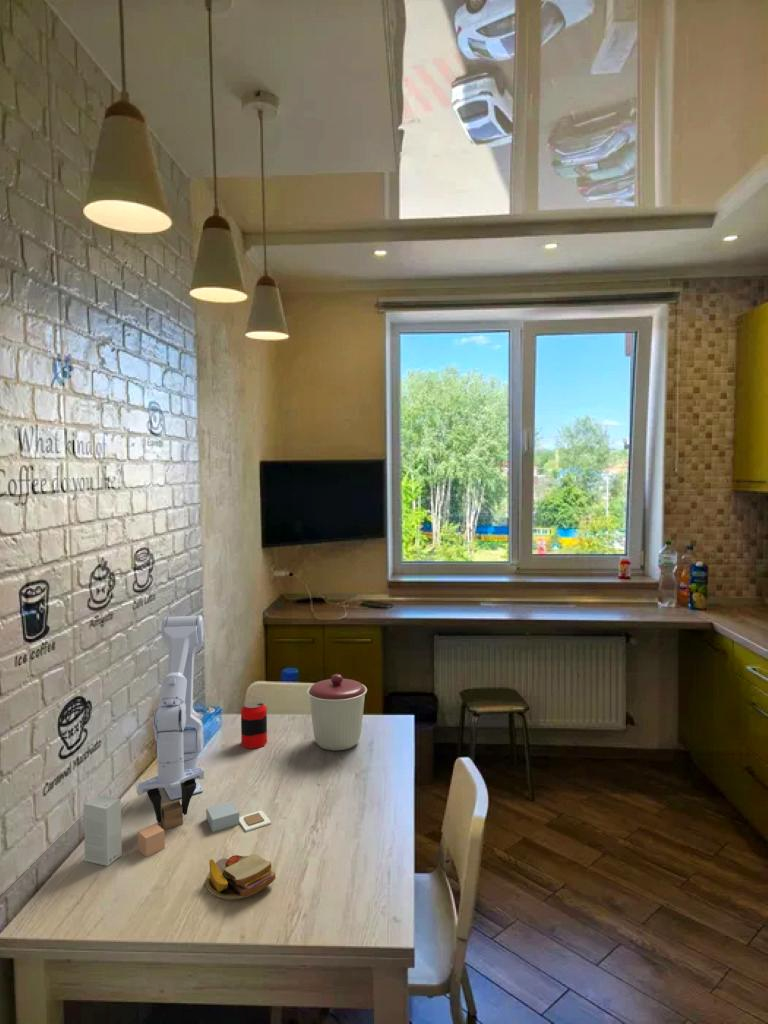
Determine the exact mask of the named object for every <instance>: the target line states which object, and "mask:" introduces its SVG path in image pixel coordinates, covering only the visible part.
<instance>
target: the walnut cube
mask: <svg viewBox="0 0 768 1024" xmlns="http://www.w3.org/2000/svg"><path fill="white" fill-rule="evenodd" d="M183 817H184V814H183V807H182V803H181V802H180V800H179V799H174V800H171V801H169V802H165V803H161V822H160V823H161V824H162V827H163V830H168V829H171V828H175V827H178V826H180V825H181V826H182V825H184V820H183V819H184V818H183Z"/></svg>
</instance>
